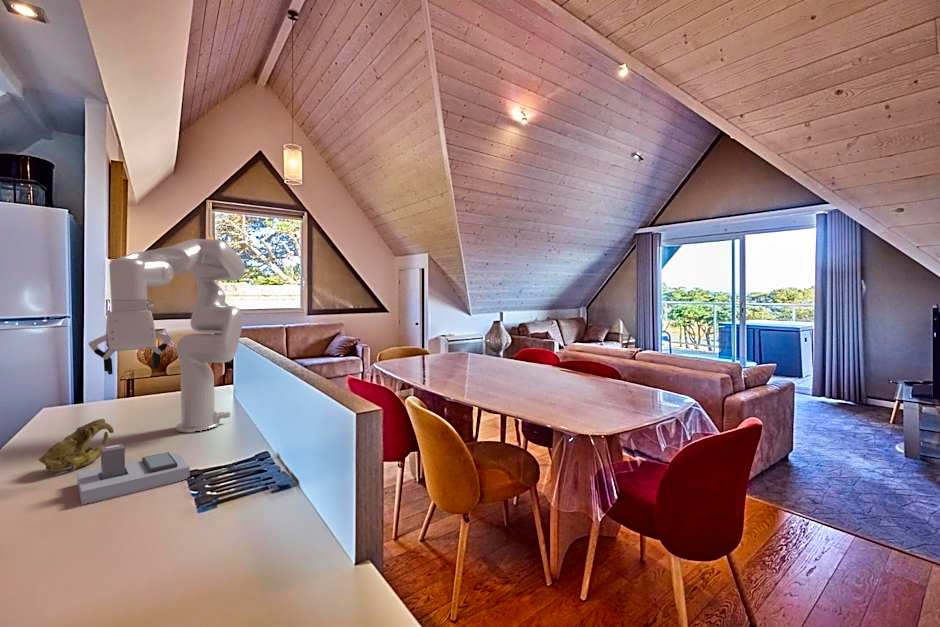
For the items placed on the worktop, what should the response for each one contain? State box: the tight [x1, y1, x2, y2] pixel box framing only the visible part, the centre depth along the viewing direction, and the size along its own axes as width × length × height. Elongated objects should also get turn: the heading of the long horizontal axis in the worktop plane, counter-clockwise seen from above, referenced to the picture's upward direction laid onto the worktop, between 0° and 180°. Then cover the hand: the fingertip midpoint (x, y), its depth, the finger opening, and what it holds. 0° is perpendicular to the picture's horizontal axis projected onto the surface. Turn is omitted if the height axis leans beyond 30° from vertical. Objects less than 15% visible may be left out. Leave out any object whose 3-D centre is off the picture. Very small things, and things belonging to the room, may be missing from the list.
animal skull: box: [38, 418, 115, 472], centre depth 116 cm, size 9×16×10 cm, turn 163°
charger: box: [100, 443, 126, 480], centre depth 104 cm, size 4×4×9 cm
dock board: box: [76, 451, 191, 506], centre depth 107 cm, size 20×14×4 cm
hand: (133, 370), depth 117 cm, fingers open, 9 cm apart
